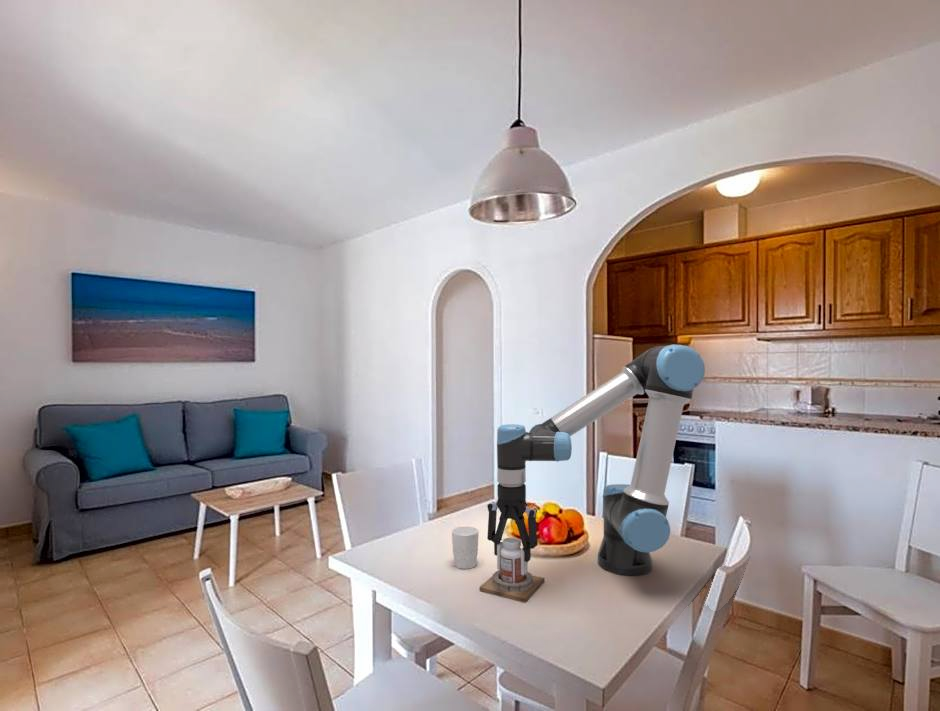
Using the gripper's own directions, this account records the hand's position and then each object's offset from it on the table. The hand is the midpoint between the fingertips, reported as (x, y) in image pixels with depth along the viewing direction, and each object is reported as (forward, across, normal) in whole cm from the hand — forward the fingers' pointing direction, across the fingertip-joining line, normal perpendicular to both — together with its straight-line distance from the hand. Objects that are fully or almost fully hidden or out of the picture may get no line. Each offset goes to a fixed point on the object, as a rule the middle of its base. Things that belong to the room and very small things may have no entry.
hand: (512, 570), depth 130 cm
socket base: (+4, 0, 0) cm, 4 cm away
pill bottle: (+3, 0, 0) cm, 3 cm away
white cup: (+5, +18, -6) cm, 19 cm away
